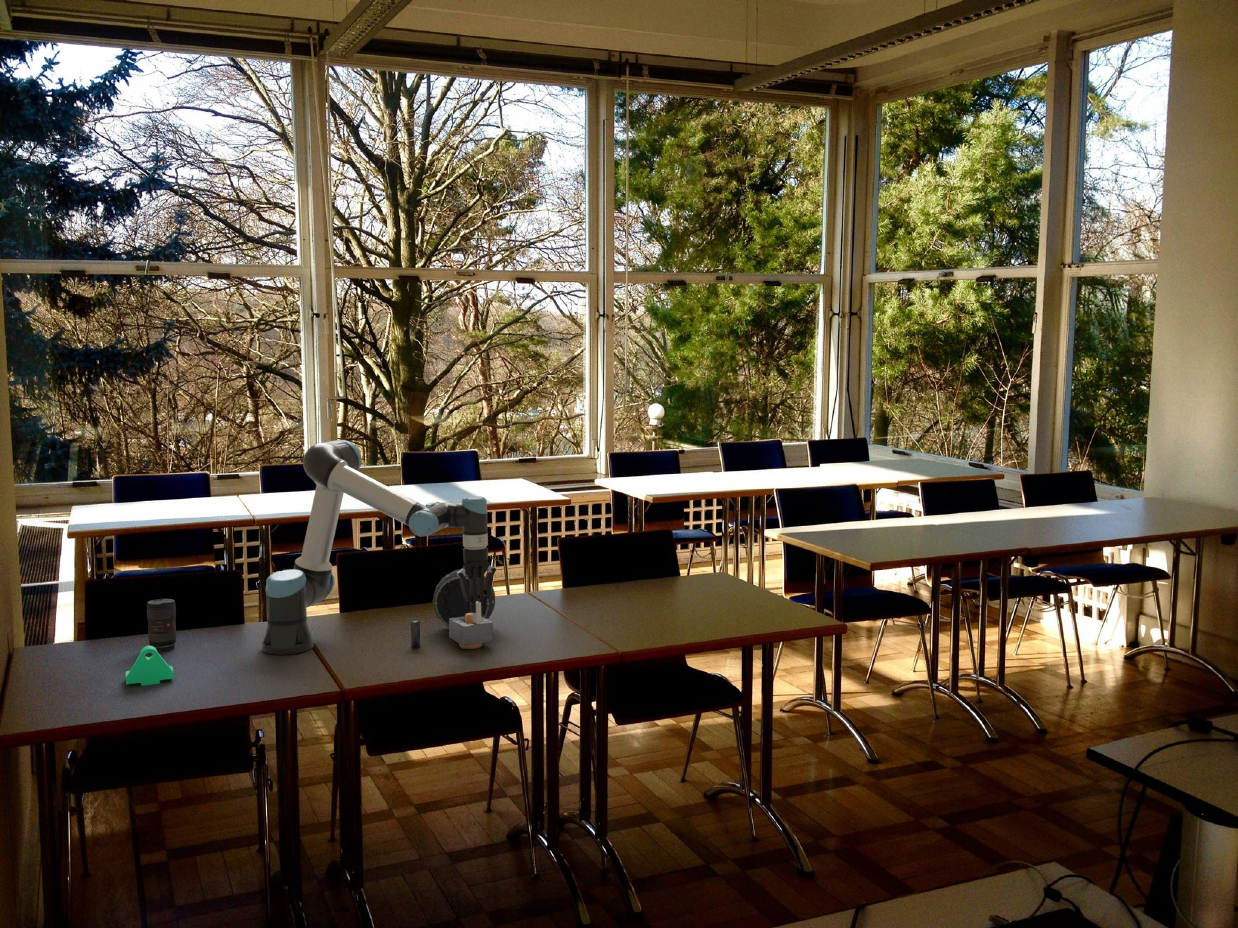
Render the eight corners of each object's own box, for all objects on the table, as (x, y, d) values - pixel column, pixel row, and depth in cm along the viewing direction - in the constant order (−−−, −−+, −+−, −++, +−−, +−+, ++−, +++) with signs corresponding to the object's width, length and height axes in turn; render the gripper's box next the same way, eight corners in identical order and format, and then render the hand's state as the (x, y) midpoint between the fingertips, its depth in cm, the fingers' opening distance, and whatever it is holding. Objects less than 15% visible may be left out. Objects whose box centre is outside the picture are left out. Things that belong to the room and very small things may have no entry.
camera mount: (172, 674, 302) (170, 639, 301) (174, 682, 295) (172, 646, 294) (126, 680, 297) (124, 644, 296) (126, 688, 290) (124, 651, 289)
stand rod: (410, 647, 328) (410, 622, 327) (411, 645, 331) (411, 620, 330) (419, 647, 329) (419, 622, 328) (420, 645, 331) (420, 620, 330)
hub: (458, 649, 327) (457, 617, 326) (459, 642, 335) (459, 611, 333) (481, 648, 328) (481, 616, 327) (482, 642, 335) (482, 611, 334)
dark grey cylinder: (182, 648, 327) (180, 600, 325) (156, 654, 321) (154, 605, 319) (169, 643, 332) (167, 596, 331) (143, 649, 326) (141, 601, 324)
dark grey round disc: (492, 634, 344) (492, 573, 342) (431, 633, 345) (430, 573, 342) (497, 625, 355) (496, 566, 353) (437, 624, 355) (436, 566, 353)
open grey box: (463, 645, 324) (463, 626, 323) (449, 636, 332) (449, 618, 331) (492, 640, 330) (492, 622, 329) (477, 632, 338) (478, 614, 337)
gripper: (461, 551, 318) (463, 628, 320) (500, 546, 325) (501, 621, 328) (450, 547, 324) (452, 623, 326) (488, 542, 331) (490, 616, 334)
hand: (477, 622), depth 327 cm, fingers closed
